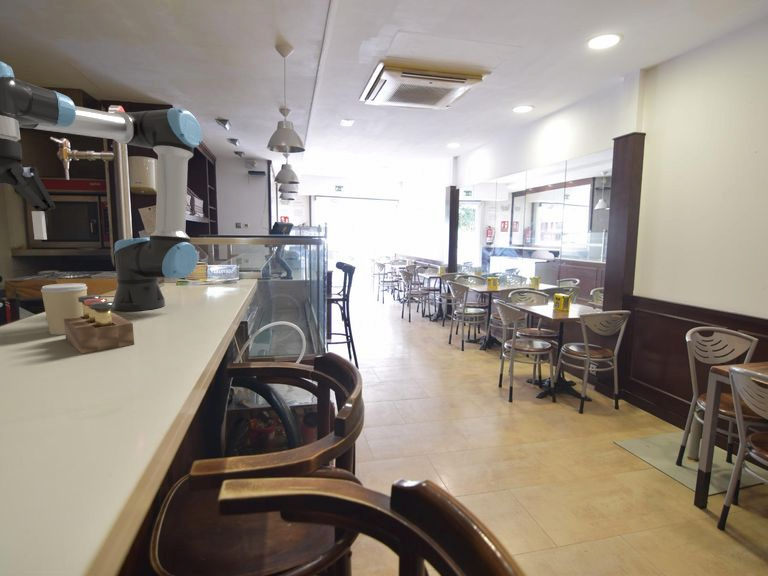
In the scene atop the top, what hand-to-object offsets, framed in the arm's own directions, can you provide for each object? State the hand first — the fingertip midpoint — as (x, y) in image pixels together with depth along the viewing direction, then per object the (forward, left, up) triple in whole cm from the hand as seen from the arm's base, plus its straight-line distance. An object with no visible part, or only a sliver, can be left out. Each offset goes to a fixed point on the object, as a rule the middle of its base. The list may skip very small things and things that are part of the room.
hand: (8, 240), depth 88 cm
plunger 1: (-13, +2, -20) cm, 24 cm away
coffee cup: (-10, -9, -24) cm, 27 cm away
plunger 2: (-13, +14, -20) cm, 28 cm away
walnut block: (-13, +8, -24) cm, 28 cm away
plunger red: (-13, +8, -20) cm, 25 cm away
